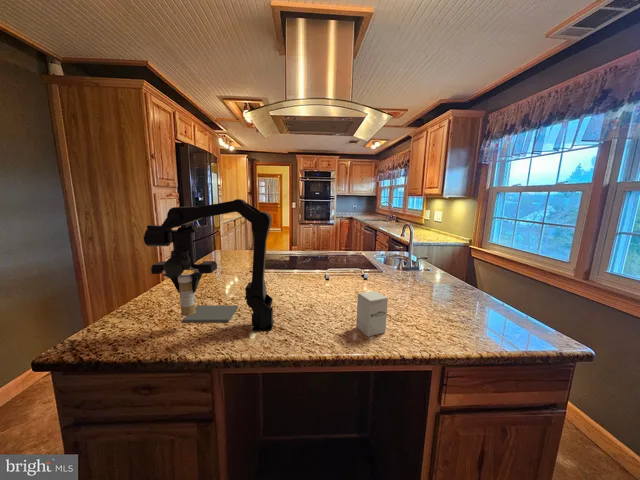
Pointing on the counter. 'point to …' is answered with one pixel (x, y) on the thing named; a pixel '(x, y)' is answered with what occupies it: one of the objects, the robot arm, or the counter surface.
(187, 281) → the sprinkles bottle
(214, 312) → the gray tray
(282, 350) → the counter surface
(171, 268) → the robot arm
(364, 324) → the supplement box
